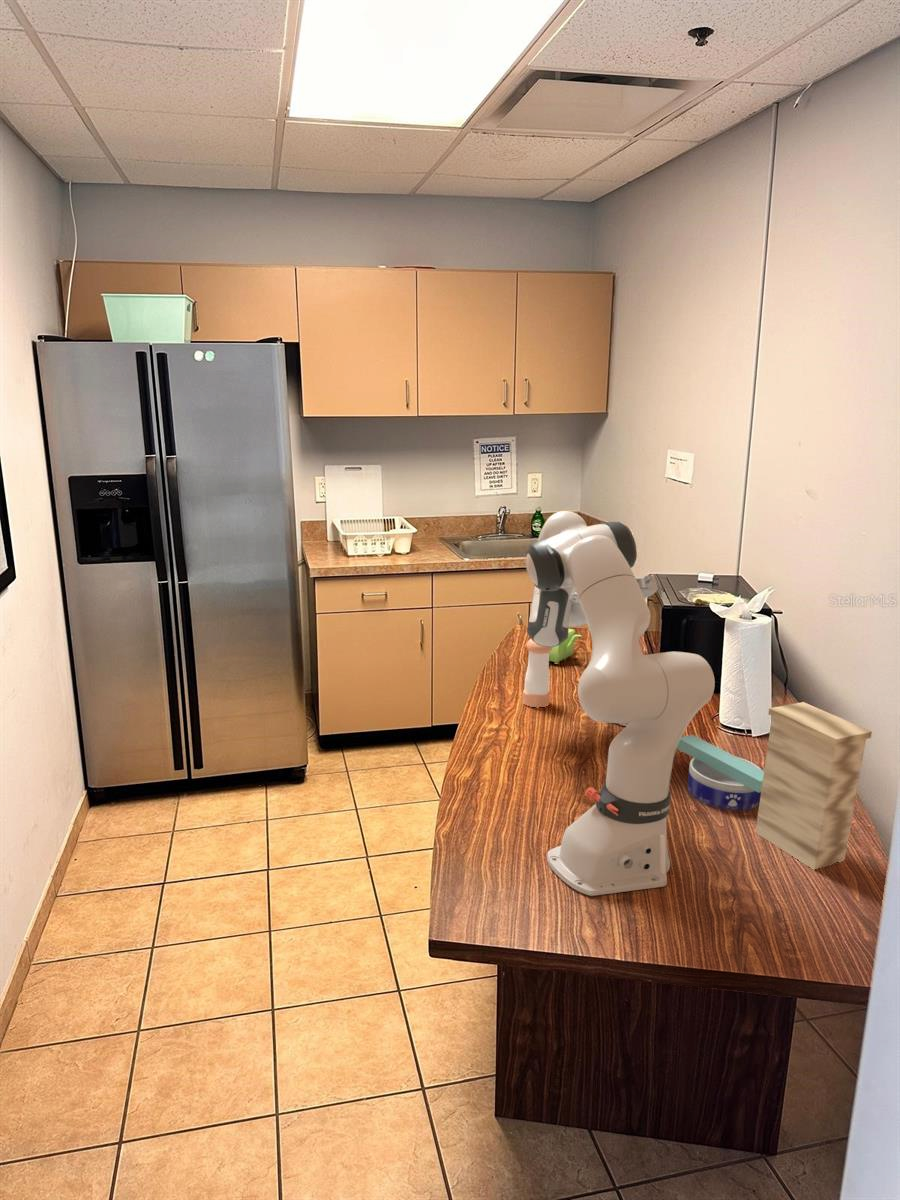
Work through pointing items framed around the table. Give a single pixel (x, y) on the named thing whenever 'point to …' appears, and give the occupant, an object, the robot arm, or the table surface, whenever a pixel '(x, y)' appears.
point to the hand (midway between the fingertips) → (635, 579)
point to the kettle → (564, 648)
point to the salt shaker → (537, 676)
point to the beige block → (810, 783)
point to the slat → (722, 761)
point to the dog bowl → (720, 788)
